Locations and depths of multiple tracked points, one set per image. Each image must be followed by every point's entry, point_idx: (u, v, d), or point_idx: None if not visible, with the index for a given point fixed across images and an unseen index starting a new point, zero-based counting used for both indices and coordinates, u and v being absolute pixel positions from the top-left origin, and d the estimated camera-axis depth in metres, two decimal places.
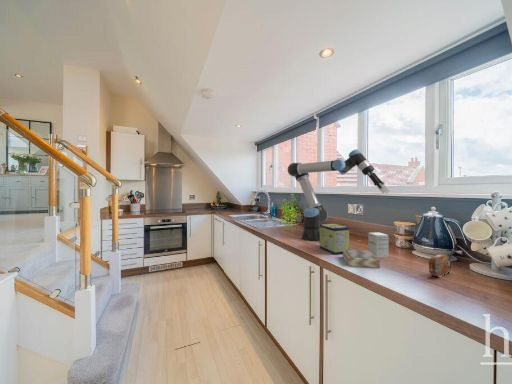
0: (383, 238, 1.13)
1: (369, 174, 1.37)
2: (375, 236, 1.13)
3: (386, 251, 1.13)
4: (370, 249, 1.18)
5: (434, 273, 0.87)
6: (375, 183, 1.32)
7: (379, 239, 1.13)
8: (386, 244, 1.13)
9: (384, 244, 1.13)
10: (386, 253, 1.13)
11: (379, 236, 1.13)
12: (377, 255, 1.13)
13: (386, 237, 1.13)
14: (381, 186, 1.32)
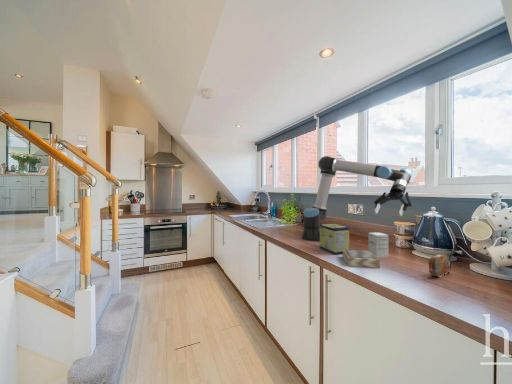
0: (383, 238, 1.13)
1: (408, 195, 1.22)
2: (375, 236, 1.13)
3: (386, 251, 1.13)
4: (370, 249, 1.18)
5: (434, 273, 0.87)
6: (410, 204, 1.16)
7: (379, 239, 1.13)
8: (386, 244, 1.13)
9: (384, 244, 1.13)
10: (386, 253, 1.13)
11: (379, 236, 1.13)
12: (377, 255, 1.13)
13: (386, 237, 1.13)
14: None
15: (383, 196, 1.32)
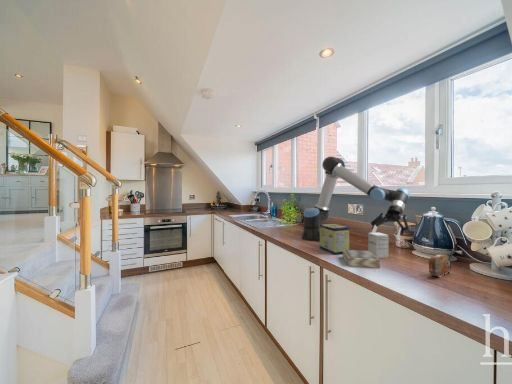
0: (383, 238, 1.13)
1: (405, 218, 1.18)
2: (375, 236, 1.13)
3: (386, 251, 1.13)
4: (370, 249, 1.18)
5: (434, 273, 0.87)
6: (408, 228, 1.12)
7: (379, 239, 1.13)
8: (386, 244, 1.13)
9: (384, 244, 1.13)
10: (386, 253, 1.13)
11: (379, 236, 1.13)
12: (377, 255, 1.13)
13: (386, 237, 1.13)
14: None
15: (380, 217, 1.28)
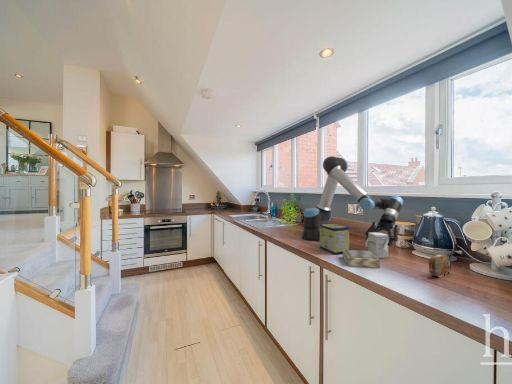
0: (383, 238, 1.13)
1: (397, 228, 1.15)
2: (375, 236, 1.13)
3: None
4: (370, 249, 1.18)
5: (434, 273, 0.87)
6: (395, 239, 1.10)
7: (379, 239, 1.13)
8: None
9: (384, 244, 1.13)
10: (386, 253, 1.13)
11: (379, 236, 1.13)
12: (377, 255, 1.13)
13: (386, 237, 1.13)
14: None
15: (373, 226, 1.24)
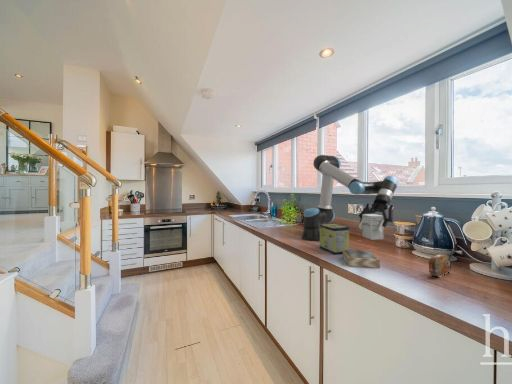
0: (377, 218, 1.07)
1: (392, 208, 1.09)
2: (369, 217, 1.07)
3: None
4: (364, 231, 1.12)
5: (434, 273, 0.87)
6: (390, 219, 1.05)
7: (373, 220, 1.07)
8: None
9: (378, 225, 1.07)
10: (381, 234, 1.07)
11: (373, 217, 1.07)
12: (372, 237, 1.07)
13: (381, 218, 1.07)
14: None
15: (367, 208, 1.18)
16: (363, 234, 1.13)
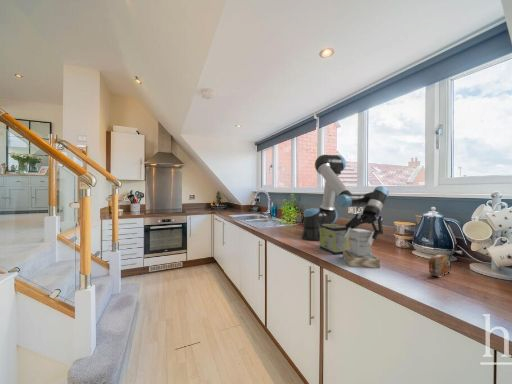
0: (365, 234, 1.03)
1: (381, 219, 1.05)
2: (357, 232, 1.03)
3: (369, 249, 1.03)
4: (352, 247, 1.07)
5: (434, 273, 0.87)
6: (381, 231, 1.00)
7: (361, 235, 1.02)
8: None
9: (366, 241, 1.03)
10: (368, 251, 1.03)
11: (361, 232, 1.02)
12: (359, 253, 1.03)
13: (369, 233, 1.03)
14: None
15: (355, 218, 1.15)
16: (351, 249, 1.09)
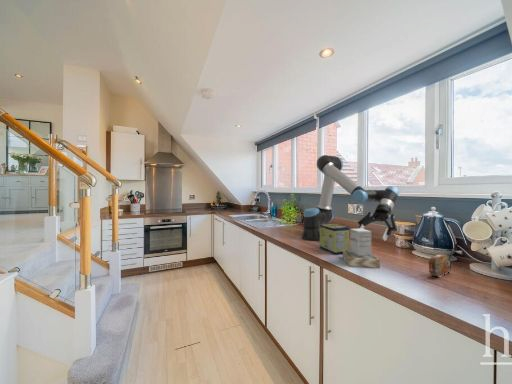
0: (365, 234, 1.03)
1: (393, 217, 1.12)
2: (357, 232, 1.03)
3: (369, 249, 1.03)
4: (352, 247, 1.07)
5: (434, 273, 0.87)
6: (395, 228, 1.06)
7: (361, 235, 1.02)
8: (369, 241, 1.03)
9: (366, 241, 1.03)
10: (368, 251, 1.03)
11: (361, 232, 1.02)
12: (359, 253, 1.03)
13: (369, 233, 1.03)
14: None
15: (368, 216, 1.22)
16: (351, 249, 1.09)
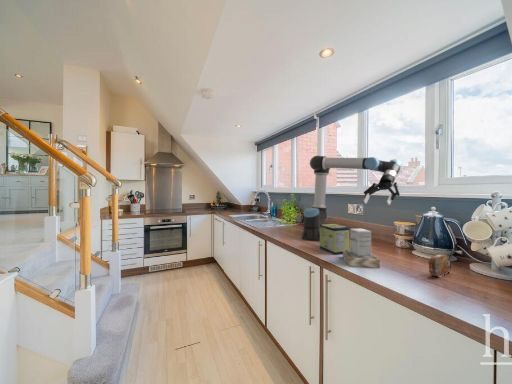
0: (365, 234, 1.03)
1: (396, 185, 1.23)
2: (357, 232, 1.03)
3: (369, 249, 1.03)
4: (352, 247, 1.07)
5: (434, 273, 0.87)
6: (398, 193, 1.17)
7: (361, 235, 1.02)
8: (369, 241, 1.03)
9: (366, 241, 1.03)
10: (368, 251, 1.03)
11: (361, 232, 1.02)
12: (359, 253, 1.03)
13: (369, 233, 1.03)
14: None
15: (373, 186, 1.33)
16: (351, 249, 1.09)
